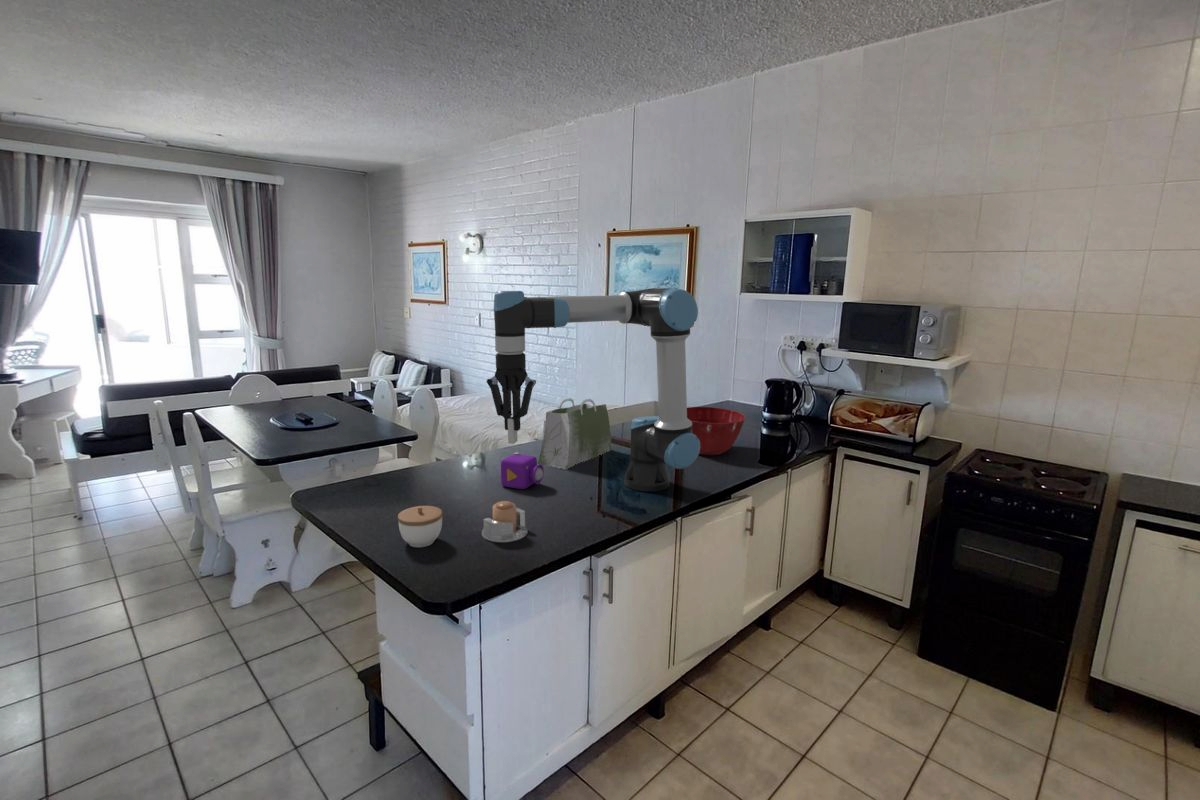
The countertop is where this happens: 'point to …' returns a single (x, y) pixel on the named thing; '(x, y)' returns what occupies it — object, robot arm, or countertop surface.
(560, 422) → the grocery bag
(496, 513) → the tan tapered cylinder
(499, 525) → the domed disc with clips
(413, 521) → the lidded jar
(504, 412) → the robot arm
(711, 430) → the mixing bowl
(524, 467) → the toy camera
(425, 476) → the countertop surface
